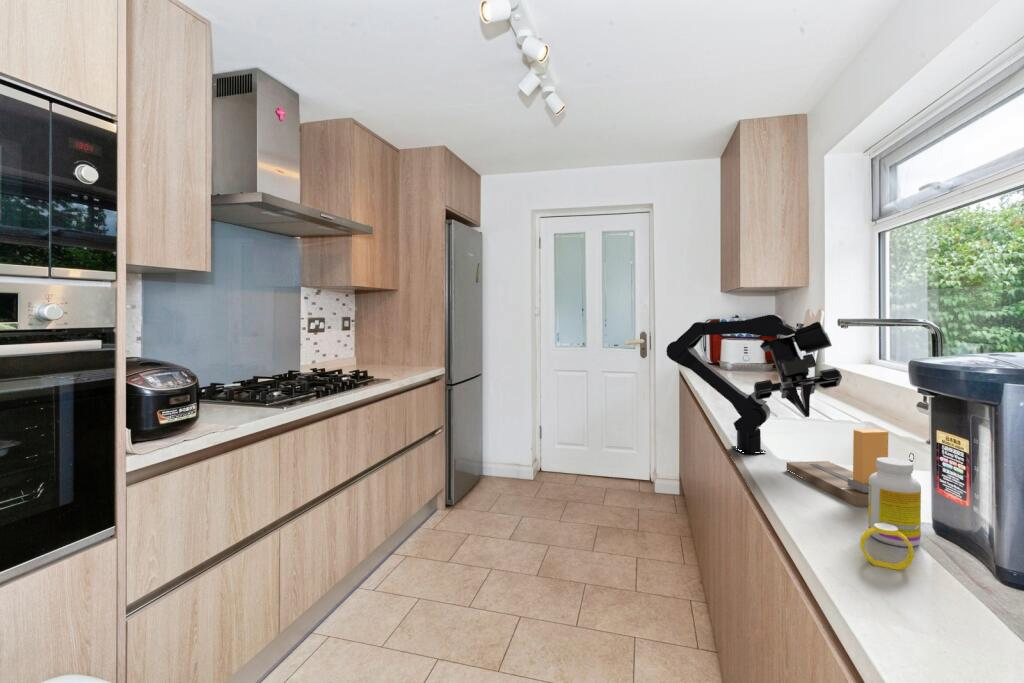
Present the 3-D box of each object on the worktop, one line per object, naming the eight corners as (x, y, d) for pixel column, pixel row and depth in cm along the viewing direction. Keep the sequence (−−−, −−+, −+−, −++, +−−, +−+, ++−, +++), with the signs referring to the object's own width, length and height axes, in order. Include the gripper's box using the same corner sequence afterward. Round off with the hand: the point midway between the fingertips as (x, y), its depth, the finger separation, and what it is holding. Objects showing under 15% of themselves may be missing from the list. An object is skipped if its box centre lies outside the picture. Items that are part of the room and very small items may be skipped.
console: (786, 470, 112) (786, 461, 112) (827, 469, 113) (827, 460, 113) (856, 506, 90) (857, 496, 90) (907, 505, 91) (908, 494, 91)
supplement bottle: (931, 548, 74) (933, 467, 73) (888, 549, 74) (889, 467, 74) (897, 529, 81) (899, 455, 80) (858, 530, 81) (859, 455, 80)
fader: (847, 485, 96) (848, 428, 95) (876, 484, 96) (877, 428, 95) (862, 492, 92) (863, 433, 91) (893, 491, 92) (894, 432, 91)
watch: (863, 567, 69) (860, 527, 69) (860, 559, 72) (857, 520, 72) (916, 575, 66) (913, 532, 66) (911, 566, 69) (908, 525, 69)
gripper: (747, 353, 119) (766, 412, 111) (832, 336, 112) (858, 397, 104) (747, 371, 127) (764, 426, 119) (826, 356, 121) (850, 414, 113)
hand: (807, 416), depth 114 cm, fingers closed
